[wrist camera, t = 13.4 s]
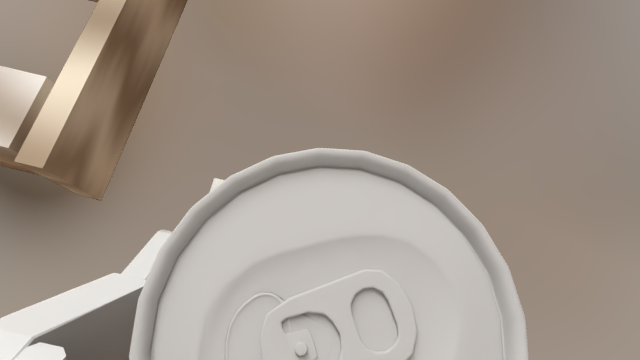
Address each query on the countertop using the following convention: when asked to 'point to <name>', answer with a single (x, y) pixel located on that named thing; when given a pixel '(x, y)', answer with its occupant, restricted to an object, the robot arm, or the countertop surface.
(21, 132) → the light wood bar
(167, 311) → the beverage can
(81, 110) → the birch rack
